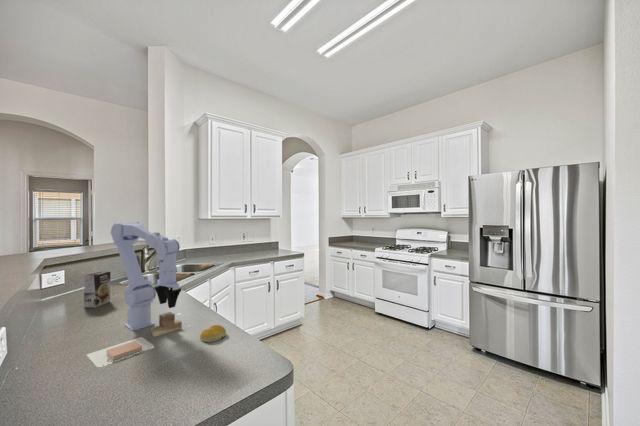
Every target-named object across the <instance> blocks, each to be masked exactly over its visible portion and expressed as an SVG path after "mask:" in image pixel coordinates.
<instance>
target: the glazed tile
mask: <svg viewBox="0 0 640 426" xmlns="http://www.w3.org/2000/svg"><path fill="white" fill-rule="evenodd" d="M140 351H142V346H141V345H140V344H138V343H137V342H136V341H133V342H130V343H127V344H124V345H121V346H118V347H115V348H111V349H108V350H107V353H106V354H107V355H108V356H109V357H110V358H111V359H112V360H113V361H115V360H118V359H120V358H123V357H126V356H129V355H132V354H134V353H137V352H140Z"/></svg>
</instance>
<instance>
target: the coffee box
mask: <svg viewBox="0 0 640 426" xmlns="http://www.w3.org/2000/svg"><path fill="white" fill-rule="evenodd" d="M111 273H112V272H111V271H98V272H93V273H89V274H85V275H84V283H83V284H84V285H83V286H84V291H83V292H84V293H83V308H98V307H101V306H103V305H106V304H108V303H110V302H111Z"/></svg>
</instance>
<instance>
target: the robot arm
mask: <svg viewBox="0 0 640 426" xmlns="http://www.w3.org/2000/svg"><path fill="white" fill-rule="evenodd" d="M110 234H111V238H112V240H113V244H114V245H116V248H117V251H118V254H119V258H120V260H121V263H122V266H123V269H124V272H125V275H126V278H127V280H128V284H127V285H126V287H125V288H124V290H123V294H124V301H125V304H126V305H127V306H128V308H127V317H126V318H127V323H124V326H125V327H126V328H128V329H129V330H131V331H132V332H133V331H137V330H141V329H144V328H147V327H150V326H154V325H156V323H155V322H153V321H152V303H153V302H154V300H155V298H156V296H157V298H158V302H159V304H160V305H163V304H166V303H167V307H168V308H169V309H173V308H175V307H176V305H177V302H178V301H177V300H178V297H179V295H180V293H181V292H182V287H181V288H180V284H179V283H178V281H177V254H178V253H179V252H180V248H181V247H180V242H179V241H178V240H176V239H169V238H168V237H166V236H164V235H161V233H160V232H159V231H154V232H151V231H150V230H148V229H147V228H145V227H144V224H142V223H140V222H138V221H137V222H115V223H114V224H113V225H112V226H111V229H110ZM140 238H141V239H142V240H145V243H146V245H147V246H149V247H150V248H152V249H154V250H155V252H156V254H157V259H158V261H159V265H158V266H159V267H158V268H159V269H158V276H159V277H158V279H156V283H155V286H154V285H153V283H152V281H150V280H148V279H145V277H144V275H143V272H142V270H141V266H140V264H139V261H138V258H137V255H136V252H135V248H134V244H136V243H137V242H138V241H139V239H140Z"/></svg>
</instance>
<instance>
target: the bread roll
mask: <svg viewBox="0 0 640 426" xmlns="http://www.w3.org/2000/svg"><path fill="white" fill-rule="evenodd" d="M226 335H227V331H226V328H225V327H224V326H222V325H221V324H220V325H219V324H214V325H211V326H210V327H208V328H206V329H205V330H203V331H201V333H200V335H199V338H200V340H201V341H202V342H203V341H204V343H212V342H211V341H215V342H217V341H216V340H218V341H220V340H222V339H223V338H224V336H225V337H226ZM222 337H223V338H222ZM221 338H222V339H221ZM219 339H220V340H219Z"/></svg>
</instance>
